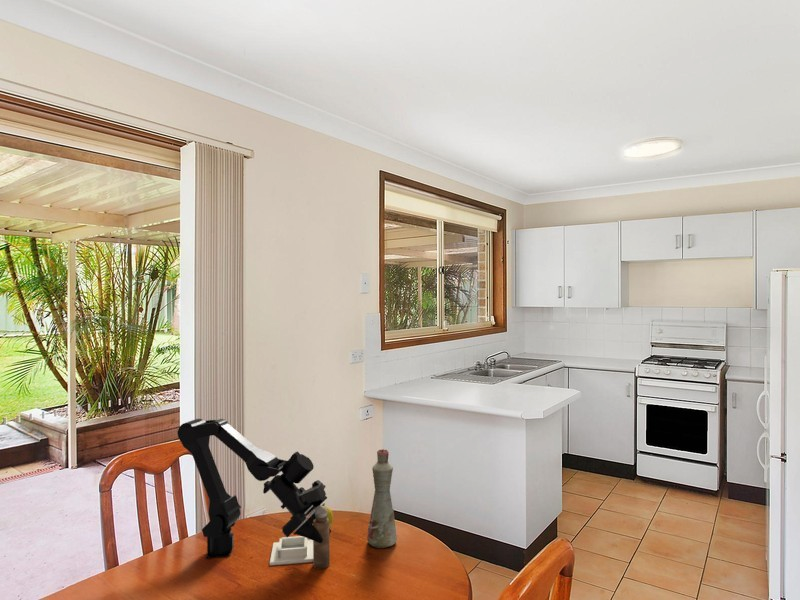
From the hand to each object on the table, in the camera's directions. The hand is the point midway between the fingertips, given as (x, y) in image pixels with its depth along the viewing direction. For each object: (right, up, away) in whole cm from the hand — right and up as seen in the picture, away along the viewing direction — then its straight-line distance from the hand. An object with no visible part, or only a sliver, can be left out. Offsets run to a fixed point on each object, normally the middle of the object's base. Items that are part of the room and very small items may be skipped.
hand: (326, 537), depth 142 cm
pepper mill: (-1, -8, 0) cm, 8 cm away
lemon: (-4, -8, +21) cm, 23 cm away
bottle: (+15, -8, +13) cm, 21 cm away
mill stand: (-10, -8, +7) cm, 15 cm away
